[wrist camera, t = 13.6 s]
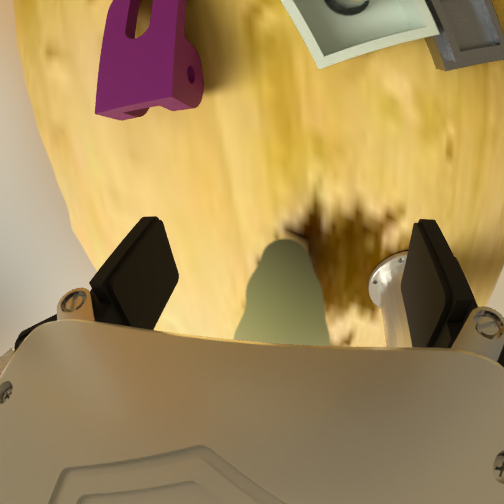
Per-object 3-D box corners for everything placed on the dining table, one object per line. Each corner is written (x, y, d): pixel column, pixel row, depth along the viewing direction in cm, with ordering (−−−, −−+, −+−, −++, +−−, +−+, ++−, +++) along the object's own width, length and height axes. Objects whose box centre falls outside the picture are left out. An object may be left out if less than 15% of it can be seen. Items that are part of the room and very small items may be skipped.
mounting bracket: (145, 12, 32) (135, 124, 36) (113, -14, 24) (94, 114, 27) (207, -4, 30) (203, 114, 34) (183, -37, 22) (171, 97, 26)
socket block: (498, 55, 22) (517, 59, 18) (436, 68, 26) (451, 72, 23) (469, -18, 17) (486, -22, 14) (402, -9, 21) (414, -15, 18)
